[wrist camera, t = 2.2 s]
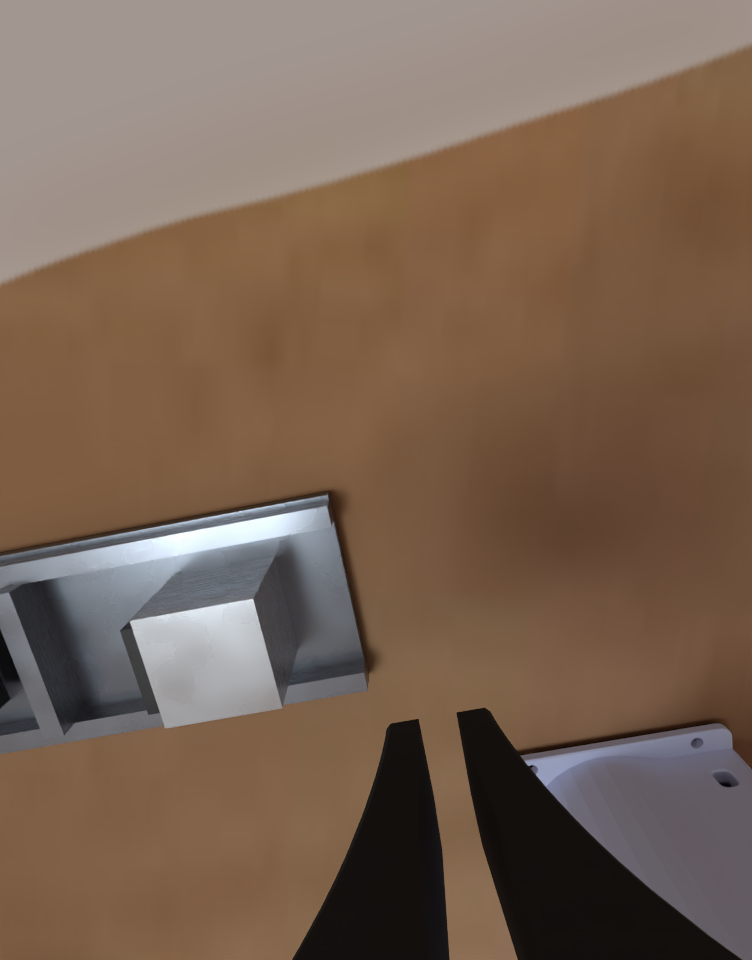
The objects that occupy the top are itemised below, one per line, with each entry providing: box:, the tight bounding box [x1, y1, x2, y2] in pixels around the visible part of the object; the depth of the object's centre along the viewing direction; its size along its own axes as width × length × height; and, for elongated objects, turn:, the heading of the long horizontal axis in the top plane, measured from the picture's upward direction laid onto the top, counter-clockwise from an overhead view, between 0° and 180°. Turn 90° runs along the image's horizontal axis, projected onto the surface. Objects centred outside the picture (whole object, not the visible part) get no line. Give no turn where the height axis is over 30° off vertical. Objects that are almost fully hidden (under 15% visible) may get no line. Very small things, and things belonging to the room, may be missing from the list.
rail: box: [0, 491, 369, 754], centre depth 18 cm, size 20×8×4 cm, turn 101°
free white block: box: [120, 557, 298, 728], centre depth 18 cm, size 5×4×4 cm
